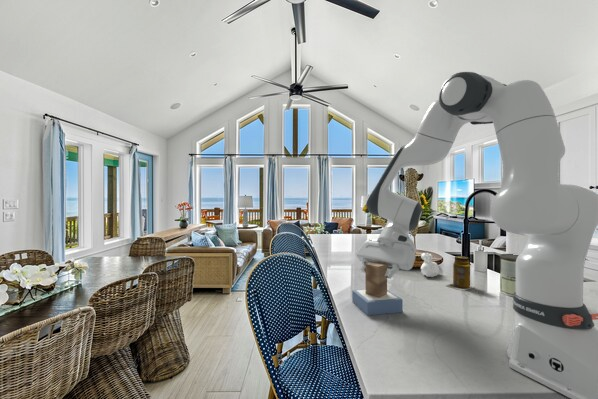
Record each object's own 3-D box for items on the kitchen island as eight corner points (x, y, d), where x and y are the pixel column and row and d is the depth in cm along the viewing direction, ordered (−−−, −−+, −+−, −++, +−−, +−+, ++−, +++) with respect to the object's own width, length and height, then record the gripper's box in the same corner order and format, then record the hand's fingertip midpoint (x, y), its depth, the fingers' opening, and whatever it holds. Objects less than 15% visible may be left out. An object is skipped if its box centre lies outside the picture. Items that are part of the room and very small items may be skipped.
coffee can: (495, 288, 113) (495, 253, 113) (526, 290, 110) (526, 254, 110) (506, 297, 103) (506, 258, 103) (540, 299, 100) (540, 260, 100)
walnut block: (387, 294, 94) (387, 264, 94) (378, 297, 91) (378, 266, 91) (374, 290, 98) (374, 261, 98) (365, 293, 95) (365, 264, 95)
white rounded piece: (435, 277, 136) (422, 256, 142) (448, 270, 131) (433, 249, 137) (421, 282, 129) (408, 259, 135) (434, 274, 124) (419, 252, 130)
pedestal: (402, 311, 90) (402, 298, 90) (367, 315, 88) (367, 301, 88) (383, 298, 102) (383, 287, 102) (352, 301, 99) (352, 289, 99)
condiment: (474, 287, 114) (474, 257, 114) (464, 291, 110) (463, 260, 110) (456, 282, 121) (456, 254, 121) (445, 286, 116) (445, 257, 116)
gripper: (362, 233, 107) (346, 263, 101) (415, 239, 91) (399, 274, 85) (369, 243, 110) (354, 273, 104) (421, 251, 94) (407, 286, 88)
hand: (375, 274), depth 94 cm, fingers open, 8 cm apart
